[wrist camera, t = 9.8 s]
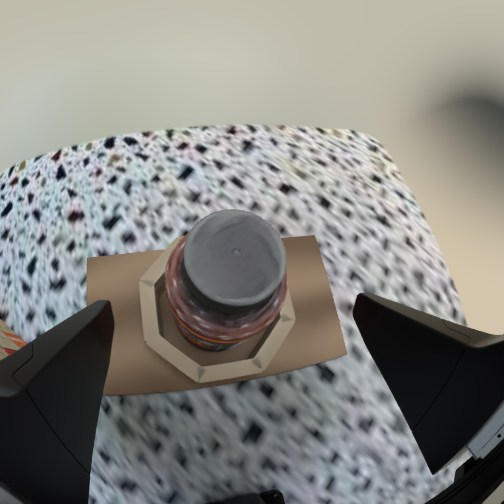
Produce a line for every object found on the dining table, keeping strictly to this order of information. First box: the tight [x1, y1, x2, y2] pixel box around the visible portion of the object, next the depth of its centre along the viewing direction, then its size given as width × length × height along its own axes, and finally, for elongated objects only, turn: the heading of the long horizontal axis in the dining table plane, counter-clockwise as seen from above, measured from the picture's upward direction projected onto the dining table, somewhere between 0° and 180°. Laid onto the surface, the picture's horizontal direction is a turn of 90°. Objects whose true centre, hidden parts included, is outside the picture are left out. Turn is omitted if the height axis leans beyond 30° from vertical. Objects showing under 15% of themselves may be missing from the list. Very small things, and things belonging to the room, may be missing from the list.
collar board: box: [87, 235, 347, 395], centre depth 20 cm, size 11×20×4 cm, turn 101°
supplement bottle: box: [164, 209, 288, 352], centre depth 15 cm, size 6×6×11 cm
